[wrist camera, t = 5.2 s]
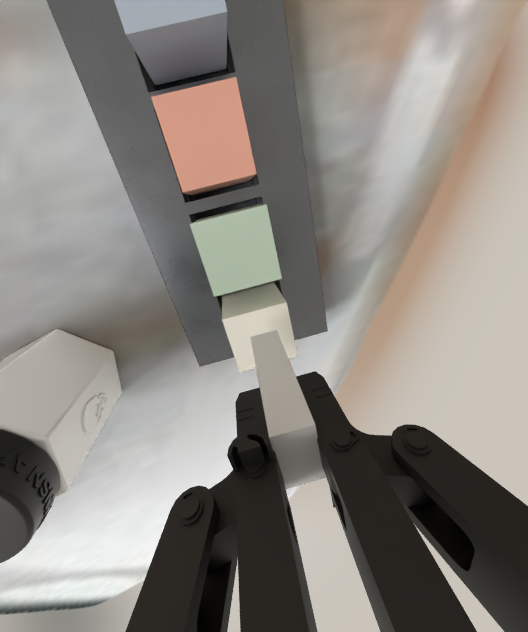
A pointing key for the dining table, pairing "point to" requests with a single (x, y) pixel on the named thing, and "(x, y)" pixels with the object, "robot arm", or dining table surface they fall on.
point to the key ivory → (256, 321)
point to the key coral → (206, 136)
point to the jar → (48, 426)
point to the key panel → (159, 173)
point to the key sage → (237, 249)
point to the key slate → (176, 36)
